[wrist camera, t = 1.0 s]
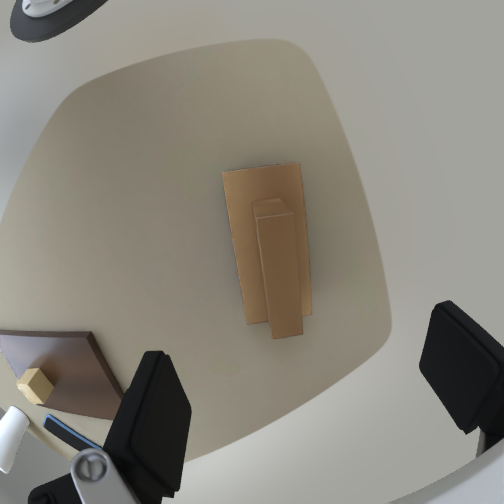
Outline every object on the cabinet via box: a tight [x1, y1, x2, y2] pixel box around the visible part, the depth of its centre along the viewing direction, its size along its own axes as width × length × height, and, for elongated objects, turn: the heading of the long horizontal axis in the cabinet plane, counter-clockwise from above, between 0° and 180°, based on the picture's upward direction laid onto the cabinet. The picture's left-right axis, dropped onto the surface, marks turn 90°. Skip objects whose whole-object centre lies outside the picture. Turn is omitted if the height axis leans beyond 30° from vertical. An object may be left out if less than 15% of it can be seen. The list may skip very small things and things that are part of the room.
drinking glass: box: [0, 406, 30, 474], centre depth 24 cm, size 7×7×15 cm
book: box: [0, 330, 124, 420], centre depth 26 cm, size 14×20×1 cm
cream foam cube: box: [16, 368, 54, 404], centre depth 24 cm, size 4×4×4 cm
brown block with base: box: [222, 163, 312, 339], centre depth 18 cm, size 5×11×8 cm, turn 8°
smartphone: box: [43, 415, 102, 452], centre depth 32 cm, size 7×1×15 cm
